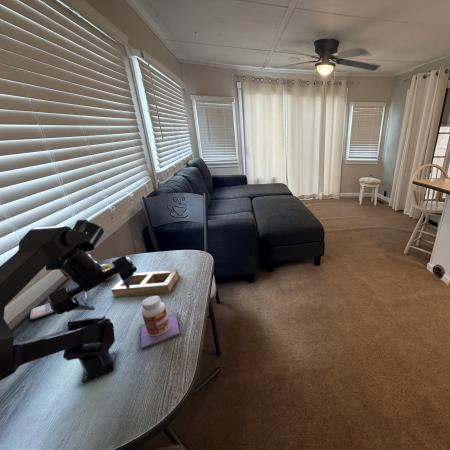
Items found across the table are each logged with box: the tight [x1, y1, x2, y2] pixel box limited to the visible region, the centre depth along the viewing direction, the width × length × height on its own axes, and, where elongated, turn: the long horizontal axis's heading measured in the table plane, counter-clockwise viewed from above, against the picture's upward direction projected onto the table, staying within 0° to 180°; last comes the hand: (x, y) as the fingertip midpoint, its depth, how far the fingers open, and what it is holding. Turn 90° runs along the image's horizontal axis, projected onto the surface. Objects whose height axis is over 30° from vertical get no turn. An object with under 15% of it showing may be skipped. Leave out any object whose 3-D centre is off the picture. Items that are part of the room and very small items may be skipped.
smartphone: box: [29, 292, 88, 320], centre depth 88 cm, size 7×1×15 cm
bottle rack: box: [110, 269, 180, 298], centre depth 97 cm, size 11×20×4 cm, turn 97°
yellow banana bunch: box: [99, 263, 116, 280], centre depth 104 cm, size 10×6×15 cm
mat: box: [140, 313, 180, 349], centre depth 75 cm, size 10×10×1 cm
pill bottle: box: [141, 295, 170, 336], centre depth 73 cm, size 6×6×11 cm
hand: (111, 297), depth 70 cm, fingers open, 9 cm apart
